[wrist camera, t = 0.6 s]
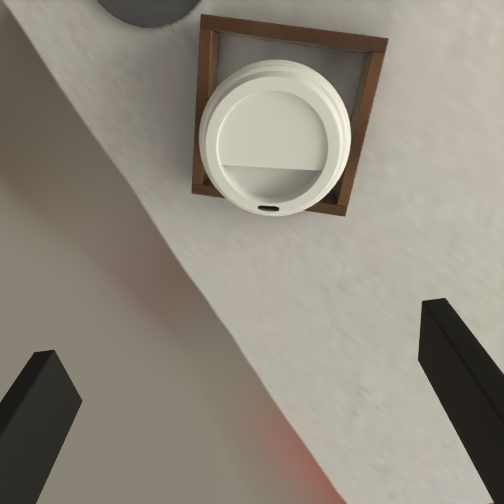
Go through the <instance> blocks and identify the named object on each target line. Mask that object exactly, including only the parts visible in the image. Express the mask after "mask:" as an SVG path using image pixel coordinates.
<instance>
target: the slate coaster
mask: <svg viewBox="0 0 504 504" xmlns="http://www.w3.org/2000/svg"><path fill="white" fill-rule="evenodd" d="M97 1H98V2H99V3H100V4H101V5H102V6H103V7H104V8H105V9H106V10H107V11H108V12H110V13H111V14H112V15H114V16H115V17H117V18H118V19H120V20H122V21H124V22H126V23H129V24H132V25H134V26H139V27H144V28H161V27H165V26H169V25H172V24H174V23H177V22H179V21H180V20H182V19H183V18H185V17H186V16H188V15H189V14H190V13H191V12H192V11H193V10H194V9H195V8H196V7H197V6H198V4H199V3H200V2H201V0H97Z"/></svg>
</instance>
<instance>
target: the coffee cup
mask: <svg viewBox="0 0 504 504" xmlns="http://www.w3.org/2000/svg"><path fill="white" fill-rule="evenodd" d="M350 145H351V129H350V122H349V117H348V114H347V111H346V108H345V106H344V103H343V101H342V99H341V98H340V96H339V94H338V93H337V91H336V90H335V89H334V87H333V86H332V85H331V84H330V83H329V82H328V81H327V80H326V79H325V78H324V77H323V76H321V75H320V74H319V73H317V72H316V71H314V70H313V69H311V68H309V67H307V66H305V65H302V64H299V63H296V62H293V61H287V60H264V61H259V62H255V63H252V64H249V65H246V66H244V67H242V68H240V69H238V70H237V71H235V72H234V73H232V74H231V75H229V76H228V77H227V78H226V79H225V80H224V81H223V82H222V83H221V84H220V85H219V86H218V87H217V88H216V90H215V91H214V92H213V94H212V95H211V97H210V99H209V100H208V102H207V104H206V107H205V109H204V112H203V115H202V118H201V123H200V130H199V147H200V154H201V158H202V162H203V165H204V168H205V170H206V173H207V175H208V177H209V178H210V180H211V182H212V183H213V185H214V186H215V187H216V189H217V190H218V191H219V192H220V193H221V194H222V195H223V196H224V197H225V198H226V199H227V200H229V201H230V202H231V203H233V204H234V205H236V206H237V207H239V208H241V209H243V210H246V211H248V212H251V213H254V214H258V215H264V216H284V215H290V214H294V213H297V212H300V211H302V210H305V209H307V208H309V207H311V206H312V205H314V204H315V203H317V202H318V201H320V200H321V199H322V198H323V197H324V196H325V195H326V194H328V192H329V191H330V190H331V189H332V188H333V187H334V185H335V184H336V183H337V181H338V180H339V178H340V176H341V175H342V173H343V171H344V168H345V166H346V163H347V160H348V156H349V152H350Z"/></svg>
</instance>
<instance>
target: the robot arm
mask: <svg viewBox="0 0 504 504" xmlns="http://www.w3.org/2000/svg"><path fill="white" fill-rule="evenodd" d="M418 361H419V363H420V364H421V366H422V368H423V370H424V372H425V374H426V376H427V378H428V380H429V381H430V383H431V385H432V387H433V389H434V391H435V393H436V395H437V396H438V398H439V400H440V402H441V404H442V406H443V408H444V410H445V411H446V413H447V415H448V417H449V419H450V421H451V423H452V425H453V426H454V428H455V430H456V432H457V434H458V436H459V438H460V440H461V441H462V443H463V445H464V447H465V449H466V451H467V453H468V455H469V456H470V458H471V460H472V462H473V464H474V466H475V468H476V470H477V471H478V473H479V475H480V477H481V479H482V481H483V483H484V485H485V486H486V488H487V490H488V492H489V494H490V496H491V498H492V500H493V501H494V503H495V504H504V374H503V373H502V372H501V370H500V369H499V368H498V366H497V365H496V364H495V362H494V361H493V360H492V358H491V357H490V356H489V355H488V353H487V352H486V351H485V349H484V348H483V347H482V345H481V344H480V343H479V341H478V340H477V339H476V338H475V336H474V335H473V334H472V332H471V331H470V330H469V328H468V327H467V326H466V324H465V323H464V322H463V321H462V319H461V318H460V317H459V315H458V314H457V313H456V311H455V310H454V309H453V307H452V306H451V305H450V304H449V302H448V301H447V300H446V298H441V299H434V300H426V301H422V311H421V325H420V339H419V353H418ZM81 403H82V399H81V397H80V396H79V394H78V392H77V390H76V388H75V387H74V385H73V383H72V381H71V379H70V378H69V376H68V374H67V372H66V370H65V368H64V367H63V365H62V363H61V361H60V359H59V357H58V355H57V354H56V352H55V350H49V351H41V352H34V354H33V355H32V357H31V358H30V360H29V361H28V362H27V364H26V366H25V367H24V368H23V370H22V371H21V373H20V374H19V376H18V377H17V379H16V380H15V382H14V383H13V385H12V386H11V388H10V389H9V391H8V392H7V393H6V395H5V396H4V398H3V399H2V401H1V402H0V504H36V502H37V500H38V498H39V495H40V493H41V491H42V489H43V487H44V485H45V483H46V480H47V478H48V476H49V474H50V471H51V469H52V467H53V465H54V463H55V461H56V458H57V456H58V454H59V452H60V449H61V447H62V445H63V443H64V441H65V438H66V436H67V434H68V432H69V430H70V427H71V425H72V423H73V421H74V419H75V416H76V414H77V412H78V410H79V408H80V405H81Z"/></svg>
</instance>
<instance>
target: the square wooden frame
mask: <svg viewBox="0 0 504 504" xmlns="http://www.w3.org/2000/svg"><path fill="white" fill-rule="evenodd" d="M220 34H226V35H233V36H241V37H248V38H256V39H263V40H271V41H279V42H286V43H294V44H301V45H309V46H316V47H324V48H332V49H339V50H347V51H354V52H362V53H365V57H364V61H363V66H362V70H361V75H360V79H359V84H358V88H357V93H356V97H355V102H354V106H353V110H352V115H351V119H350V129H351V145H350V152H349V156H348V160H347V163H346V166H345V168H344V171H343V173H342V175H341V176H340V178H339V180H338V181H337V183H336V186H335V191H334V194H330V193H328V194H326V195H325V196H324V197H323V198H322V199H321V200H320V201H318V202H317V203H315V204H314V205H312V206H311V207H309V208H307V209H305V211H312V212H318V213H325V214H331V215H338V216H345V215H346V211H347V206H348V203H349V199H350V195H351V191H352V187H353V183H354V179H355V175H356V171H357V166H358V162H359V158H360V154H361V150H362V146H363V142H364V138H365V134H366V130H367V126H368V121H369V117H370V113H371V109H372V105H373V101H374V97H375V93H376V89H377V85H378V81H379V76H380V72H381V68H382V64H383V60H384V56H385V52H386V48H387V44H388V40H389V39H388V38H381V37H373V36H366V35H358V34H350V33H343V32H335V31H327V30H320V29H312V28H304V27H297V26H289V25H281V24H274V23H266V22H258V21H251V20H243V19H235V18H228V17H220V16H212V15H204V14H201V20H200V40H199V59H198V79H197V98H196V117H195V136H194V155H193V174H192V194H199V195H205V196H212V197H219V198H225V197H224V196H223V195H222V194H221V193H220V192H219V191H218V190H217V189H216V187H215V186H214V185H213V183H212V182H211V180H210V178H209V177H208V175H207V173H206V170H205V168H204V165H203V162H202V158H201V154H200V147H199V130H200V123H201V118H202V115H203V112H204V109H205V107H206V104H207V102H208V100H209V99H210V97H211V95H212V94H213V92H214V91H215V90H216V84H217V70H218V56H219V42H220ZM225 199H226V198H225Z"/></svg>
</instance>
